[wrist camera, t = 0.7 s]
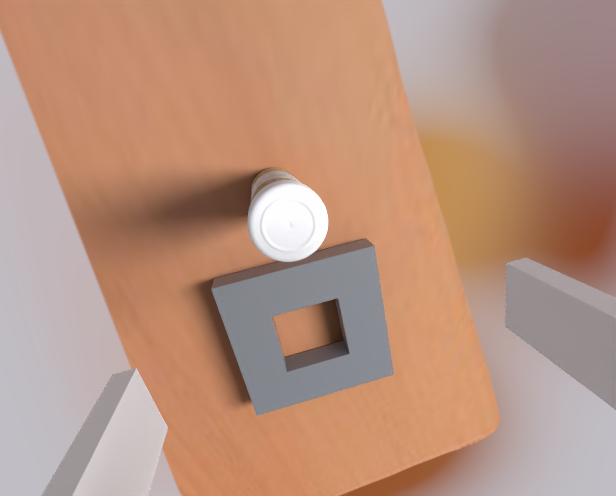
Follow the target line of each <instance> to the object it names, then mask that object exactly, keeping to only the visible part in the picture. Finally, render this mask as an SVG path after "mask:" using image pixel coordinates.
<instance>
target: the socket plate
mask: <svg viewBox="0 0 616 496" xmlns="http://www.w3.org/2000/svg"><path fill="white" fill-rule="evenodd" d="M211 290H212V293H213V296H214V298H215V301H216V304H217V307H218V309H219V312H220V315H221V318H222V321H223V323H224V326H225V329H226V332H227V334H228V337H229V340H230V343H231V345H232V348H233V351H234V354H235V357H236V359H237V362H238V365H239V368H240V370H241V373H242V376H243V379H244V381H245V384H246V387H247V390H248V393H249V395H250V398H251V401H252V404H253V406H254V409H255V412H256V415H261V414H264V413H267V412H271V411H274V410H277V409H281V408H284V407H287V406H291V405H294V404H297V403H301V402H304V401H307V400H311V399H314V398H317V397H321V396H324V395H327V394H331V393H334V392H337V391H341V390H344V389H347V388H351V387H354V386H357V385H360V384H364V383H367V382H370V381H374V380H377V379H380V378H384V377H387V376H390V375H394V372H393V366H392V359H391V353H390V346H389V339H388V333H387V326H386V320H385V313H384V306H383V300H382V293H381V286H380V280H379V273H378V267H377V260H376V253H375V247H374V245H373V244H372V243H371V242H369V241H368V240H367V239H362V240H358V241H354V242H350V243H347V244H343V245H339V246H335V247H331V248H327V249H324V250H320V251H316V252H314V253H312V254H311V255H309V256H308V257H306V258H304V259H301V260H298V261H293V262H282V261H278V262H274V263H270V264H266V265H263V266H259V267H255V268H251V269H247V270H244V271H240V272H236V273H232V274H228V275H224V276H221V277H217V278H214V281H213V284H212V288H211ZM333 299H335V302H336V307H337V311H338V316H339V321H340V326H341V330H342V335H343V341H339V342H336V343H332V344H329V345H326V346H322V347H319V348H315V349H312V350H308V351H305V352H301V353H298V354H294V355H291V356H287V357H285V356H284V353H283V349H282V346H281V342H280V339H279V336H278V332H277V329H276V326H275V322H274V319H273V316H275V315H279V314H282V313H286V312H289V311H293V310H297V309H300V308H304V307H308V306H311V305H315V304H318V303H322V302H326V301H329V300H333Z"/></svg>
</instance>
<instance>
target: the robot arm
mask: <svg viewBox="0 0 616 496" xmlns="http://www.w3.org/2000/svg"><path fill="white" fill-rule="evenodd" d="M505 316H506V317H505V326H506V327H507V328H508V329H509V330H511V331H512V332H513V333H515V334H516V335H517V336H519V337H520V338H521V339H523V340H524V341H525V342H527V343H528V344H529V345H531V346H532V347H533V348H535V349H536V350H537V351H539V352H540V353H541V354H543V355H544V356H545V357H547V358H548V359H549V360H551V361H552V362H553V363H554V364H556V365H557V366H558V367H560V368H561V369H562V370H564V371H565V372H566V373H568V374H569V375H570V376H572V377H573V378H574V379H576V380H577V381H578V382H580V383H581V384H582V385H584V386H585V387H586V388H588V389H589V390H590V391H592V392H593V393H594V394H596V395H597V396H598V397H600V398H601V399H602V400H603V401H605V402H606V403H608V404H609V405H610V406H612V407H613V408H614V409H615V410H616V298H615V297H613V296H611V295H609V294H606V293H604V292H602V291H600V290H597V289H595V288H593V287H591V286H588V285H586V284H584V283H582V282H579V281H577V280H575V279H572V278H570V277H568V276H566V275H564V274H561V273H559V272H557V271H555V270H552V269H550V268H548V267H545V266H543V265H541V264H539V263H537V262H535V261H532V260H530V259H528V258H523V259H519V260H516V261H512V262H509V263H506V315H505ZM167 429H168V427H167V425H166V423H165V421H164V420H163V418H162V416H161V414H160V412H159V410H158V408H157V406H156V404H155V403H154V401H153V399H152V397H151V395H150V393H149V391H148V389H147V387H146V385H145V384H144V382H143V380H142V378H141V376H140V374H139V372H138V370H137V368H135V369H131V370H128V371H124V372H121V373H117V374H114V375H112V377H111V378H110V380H109V382H108V383H107V385H106V387H105V388H104V390H103V392H102V393H101V395H100V397H99V399H98V400H97V402H96V404H95V405H94V407H93V409H92V411H91V412H90V414H89V416H88V417H87V419H86V421H85V422H84V424H83V426H82V428H81V429H80V431H79V433H78V434H77V436H76V438H75V440H74V441H73V443H72V445H71V446H70V448H69V450H68V451H67V453H66V455H65V457H64V458H63V460H62V462H61V463H60V465H59V467H58V469H57V470H56V472H55V474H54V475H53V477H52V479H51V480H50V482H49V484H48V485H47V487H46V489H45V491H44V492H43V494H42V496H148V495H149V491H150V488H151V484H152V481H153V477H154V474H155V470H156V467H157V464H158V460H159V457H160V453H161V450H162V446H163V443H164V440H165V436H166V433H167Z"/></svg>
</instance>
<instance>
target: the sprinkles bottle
mask: <svg viewBox="0 0 616 496" xmlns="http://www.w3.org/2000/svg"><path fill="white" fill-rule="evenodd" d="M327 229H328V215H327V211H326V208H325V206H324V204H323V202H322V200H321V199H320V198H319V196H318V195H317V194H316V193H315V192H314V191H313V190H311V189H310V188H309V187H308V186H306V185H304V184H302V183H300V182H299V181H298V180H297V179H296V178H294V177H293V176H292V174H290V173H289V172H288V171H286V170H283V169H281V168H268V169H265V170H263V171H261V172H260V173H259V174H258V175H257V176H256V177H255V179H254V181H253V183H252V187H251V204H250V207H249V211H248V230H249V234H250V237H251V239H252V241H253V243H254V245H255V246H256V247H257V249H258V250H259V251H260V252H261V253H263V254H264V255H266V256H267V257H269V258H271V259H274V260H277V261H282V262H293V261H298V260H301V259H304V258H306V257H308V256H309V255H311V254H312V253H314V252H315V251H316V250H317V249H318V248H319V246H320V245H321V244H322V242H323V240H324V238H325V236H326V233H327Z"/></svg>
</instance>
